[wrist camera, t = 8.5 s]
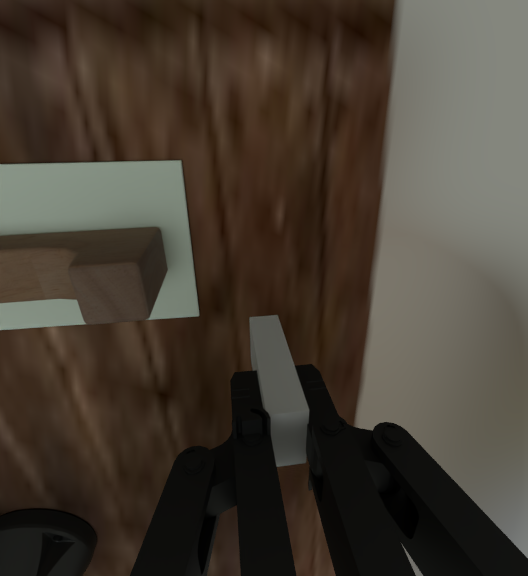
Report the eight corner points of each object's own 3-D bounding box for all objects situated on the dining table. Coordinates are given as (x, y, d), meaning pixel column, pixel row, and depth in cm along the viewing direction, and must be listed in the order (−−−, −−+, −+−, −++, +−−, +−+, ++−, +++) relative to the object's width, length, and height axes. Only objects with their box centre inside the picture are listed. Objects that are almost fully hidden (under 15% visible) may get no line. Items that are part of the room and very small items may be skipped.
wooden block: (137, 262, 21) (-175, 283, 19) (150, 321, 23) (-132, 345, 21) (161, 225, 29) (-58, 238, 27) (169, 271, 31) (-34, 286, 29)
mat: (-17, 327, 32) (-21, 331, 31) (-93, 166, 25) (-100, 167, 25) (199, 313, 34) (199, 316, 33) (181, 159, 27) (180, 160, 27)
